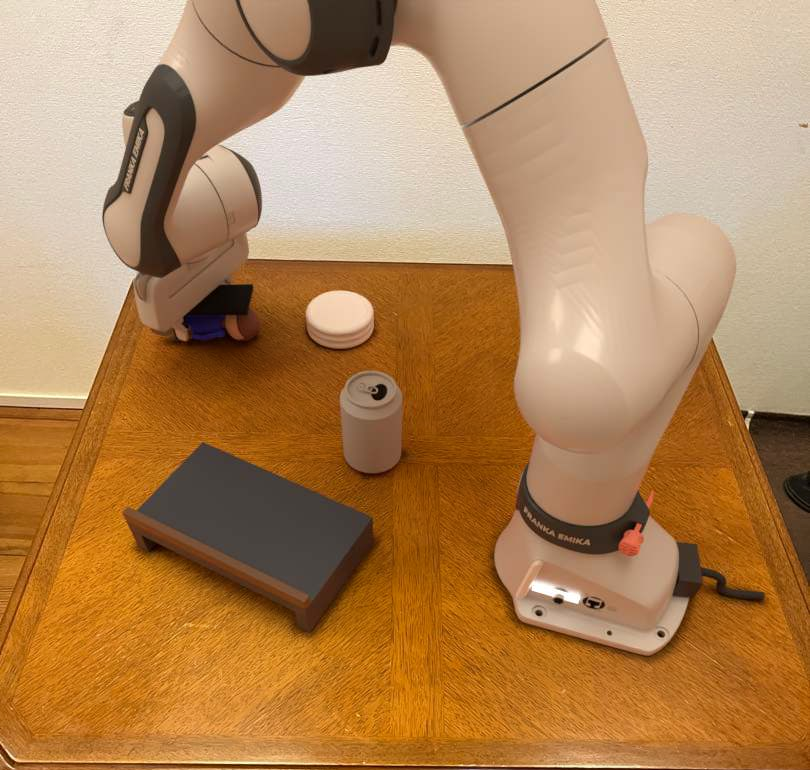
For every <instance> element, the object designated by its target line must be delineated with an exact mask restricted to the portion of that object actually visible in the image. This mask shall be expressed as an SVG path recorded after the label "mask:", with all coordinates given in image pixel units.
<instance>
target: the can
mask: <svg viewBox="0 0 810 770" xmlns="http://www.w3.org/2000/svg"><path fill="white" fill-rule="evenodd" d="M339 394H340V395H339V408H340V422H341V435H342V437H341V438H342V451H343V456H344V459H345V462H346V463H347V464H348V465H349V466H350V467H351V468H353V469H354V470H356V471H358V472H362V473H364V474H379V473H384V472H386V471H389V470H390V469H392V468H394V467H395V466H396V465H397V464H398V463H399V461H400V459H401V457H402V440H403V439H402V437H403V393H402V390H401V388H400V387H399V386H398V385H397V382H396V380H395V379H394V378H393V377H392V376H391V375H389V374H387V373H385V372H382V371H379V370H364V371H360V372H357V373H354V374H352V376H350V377H349V378H348V379H347V380H346V382H345V384H344V386H343V388H342V389H341V391H340V393H339Z"/></svg>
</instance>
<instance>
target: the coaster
mask: <svg viewBox="0 0 810 770" xmlns="http://www.w3.org/2000/svg"><path fill="white" fill-rule="evenodd" d="M374 311H375V310H374V308H373V305H372V303H371V301H369V299H367V298H366V297H364V296H363V295H361V294H359V293H357V292H353V291H349V290H331V291H327V292H324V293H321V294H319V295H317V296H316V297H314V298H313V299H312V300H311V301H310V302H309V304H308V305H307V307H306V309H305V319H306V320H305V323H306V330H307V333H308V335H309V337H310V338H311V339H312V340H313V341H314V342H315V343H317V344H318V345H320V346H322V347H326V348H329V349H336V350H345V349H346V350H347V349H351V348H354V347H357V346H359V345H362V344H363V343H365V342H366V341H367V340H368V339H370V337H371V336H372V334H373V332H374V327H375V323H374V321H375V319H374V317H375V316H374V315H375V314H374V313H375V312H374Z"/></svg>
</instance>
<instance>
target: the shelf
mask: <svg viewBox="0 0 810 770" xmlns="http://www.w3.org/2000/svg"><path fill="white" fill-rule="evenodd" d="M121 514H122V515H123V517H124V520H125V523H126V524H127V526H128V528H129V530H130V532H131V534H132V537H133V538H134V540H135V543H136V544H137V547H138V548H140V549H142V550H145V551H146V552H150V551H151V550H152V549H153V548H154V547H155V546H156V545H157V544H158V545H160V546H162V547H164V548H166V549H168V550H170V551H172V552H174V553H176V554H178V555H180V556H182V557H184V558H186V559H188V560H190V561H192V562H194V563H197V564H199V565H200V566H202V567H203V568H206V569H208V570H210V571H212V572H214V573H216V574H217V575H220V576H222V577H224V578H226V579H229V580H230V581H233V582H234V583H236V584H239V585H241V586H242V587H244V588H247V589H248V590H251V591H252V592H254V593H256V594H258V595H261V597H264V598H266V599H268V600H270V601H272V602H274V603H276V604H279V605H280V606H282V607H285V608H286V609H288V610H291V611H292V612H294V614H295V619H296V624H297V628H298V629H301V630H303V631H304V632H307V633H308V634H311V632H312V631H313V630H314V629H315V628H316V625H318V622H319V621H320V620H321V619H322V617H323V615H324V614H325V612H326V611H327V610H328V608H329V607H330V606H331V604H332V603H333V601H334V600H335V598H336V597H337V595H338V594H339V593H340V591H341V590H342V588H343V587H344V586H345V584H346V583H347V582H348V579H349V578H350V577H351V576H352V574H353V572H354V571H355V569H356V568H357V567H358V565H359V564H360V562H361V561H362V560H363V558H364V557H365V555H366V554H367V552H368V551H369V549H370V548H371V547H372V545H373V544H374V519H373V518H374V517H373V516H371V515H369V514H366V513H364V512H362V511H360V510H357V509H355V508H353V507H350V506H348V505H346V504H344V503H341V502H339V501H337V500H334V499H332V498H330V497H328V496H325V495H324V494H322V493H319V492H316V491H314V490H312V489H310V488H307V487H306V486H303V485H301V484H299V483H297V482H294V481H292V480H291V479H290V480H289V479H287V478H285V477H283V476H281V475H279V474H276V473H274V472H272V471H269V470H267V469H264V468H263V467H260V466H258V465H256V464H253V463H251V462H249V461H247V460H245V459H242V458H240V457H238V456H235V455H234V454H231V453H228V452H227V451H224V450H222V449H220V448H218V447H215V446H213V445H210V444H209V443H206V442H205V441H202V442H201V443H200V444H199V445H198V446H197V447H196V448H195V449H194V450H193V451H192V452H191V453H190V454H189V455H188V456H187V457H186V459H184V461H183V462H181V463H180V465H178V467H177V468H176V469H175V470H174V471H173V472H172V473H171V474H170V475H169V476H168V477H167V478H166V479H165V480H164V481H163V482H162V483H161V484H160V485H159V487H157V488H156V489H155V490H154V492H152V494H151V495H150V496H149V497H148V498H146V500H145V501H144V502H143V503H142V504H141V505H140V506H139V507H138V508H137V509H134V508H132V507H130V506H127V507H126V508H124V510H123V511H122V512H121Z"/></svg>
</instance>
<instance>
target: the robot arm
mask: <svg viewBox="0 0 810 770" xmlns="http://www.w3.org/2000/svg"><path fill="white" fill-rule="evenodd" d="M397 46H399V47H404V48H405V47H406V48H408V49H412V50H414V51H416V52H417V53H419V54H420V55H422V56H423V57H424V58H425V59H426V60H427V61H428V63H429V64H430V65H431V67H432V68H433V70H434V71H435V74H436V75H437V77H438V79H439V81H440V82H441V85H442V86H443V87H442V88H443V90H444V92H445V94H446V96H447V98H448V101H449V104H450V106H451V108H452V111H453V113H454V116H455V117H456V120H457V122H458V124H459V126H460V127H461V131H462V134H463V136H464V137H465V140H466V142H467V145H468V146H469V149H470V151H471V153H472V155H473V159H474V161H475V162H476V164H477V168H478V169H479V172H480V174H481V176H482V179H483V181H484V183H485V186H486V188H487V191H488V192H489V195H490V197H491V200H492V202H493V204H494V207H495V210H496V211H497V214H498V216H499V219H500V222H501V225H502V228H503V231H504V235H505V237H506V241H507V244H508V249H509V253H510V260H511V263H512V269H513V275H514V282H515V288H516V296H517V297H516V298H517V303H518V304H517V305H518V314H519V332H520V333H519V349H518V359H517V363H516V369H515V373H514V378H513V395H514V399H515V403H516V406H517V409H518V410H519V413H520V415H521V416H522V418H523V419H524V421H525V423H526V424H527V426H529V428H530V429H531V430H532V431H533V432H534V433H535V436H534V440H533V445H532V449H531V453H530V457H529V460H528V462H527V464H526V465H525V467H524V469H522V473H521V475H520V478H519V481H518V485H517V490H516V494H515V498H516V500H515V505H514V506H515V511H514V512H513V514H512V517H511V519H510V521H509V523H508V524H507V526H506V527H504V529H503V531H502V532H501V533H500V535H499V537H498V538H497V540H496V543H495V548H494V554H493V556H494V557H493V558H494V567H495V569H496V573H497V575H498V577H499V579H500V581H501V582H502V584H503V586H504V587H505V588H506V590H507V591H508V592H509V594H510V596H511V598H512V603H513V607H514V611H515V615H516V616H517V618H518V620H520V622H522V623H525V624H527V625H531V626H535V627H537V628H538V627H539V628H542V629H546V630H549V631H553V632H556V633H559V634H564V635H567V636H571V637H575V638H579V639H582V640H586V641H589V642H593V643H598V644H600V645H605V646H608V647H611V648H614V649H618V650H622V651H626V652H629V653H630V652H631V653H633V654H637V655H641V656H645V657H650V656H652V655H655V654H656V653H657V652H659V651H661V650H662V649H664V647H666V646H667V645H668V644H669V642H670V641H672V639H673V637H674V636H675V635H676V633H677V631H678V629H679V628H680V625H681V623H682V621H683V618H684V616H685V614H686V611H687V607H688V604H689V601H690V598H694V597H696V595H697V594H698V592H699V590H700V588H701V587H702V586H703V583H704V581H703V577H706V578H710V579H712V580H715V581H716V584H715V588H716V591H718V593H720V594H722V595H723V596H725V597H728V598H731V599H739V600H741V599H742V600H743V599H744V600H756V601H764V599H765V596H766V595H765V592H764V591H756V590H741V589H734V588H730V587H728V586H726V585H727V578H726V576H725V575H723V574H722V573H721V572H719V571H717V570H714V569H711V568H708V567H703V566H701V562H700V561H701V560H700V554H699V547H698V543H693V542H680V541H676V540H675V538H674V537H673V535H671V534H670V533H669V532H668V531H667V530H666V529H664V528H663V527H662V526H661V525H660V524H659V523H658V522H657V521H656V520H655V519H654V518H653V517H652V516H651V515H650V514H651V511H650V508H651V505H652V503H653V501H654V495H655V494H654V493H655V491H654V489H652V490H651V491H650V494H649V495H648V498H647V500H646V501H645V500H644V498H643V496H642V495H641V493H640V491H639V489H640V487H641V484H642V482H643V479H644V477H645V474H646V473H647V470H648V468H649V465H650V463H651V461H652V459H653V456H654V454H655V452H656V450H657V447H658V445H659V443H660V441H661V440H662V438H663V436H664V434H665V432H666V430H667V428H668V426H669V425H670V422H671V421H672V419H673V417H674V415H675V413H676V411H677V409H678V408H679V405H680V403H681V402H682V399H683V397H684V396H685V393H686V392H687V389H688V388H689V386H690V384H691V381H692V380H693V377H694V375H695V373H696V371H697V369H698V367H699V366H700V363H701V362H702V359H703V357H704V355H705V353H706V351H707V349H708V348H709V345H710V344H711V341H712V339H713V337H714V335H715V332H716V330H717V329H718V326H719V324H720V322H721V319H722V318H723V316H724V313H725V311H726V308H727V306H728V303H729V300H730V297H731V293H732V290H733V286H734V283H735V278H736V273H737V259H736V254H735V250H734V247H733V245H732V243H731V241H730V239H729V238H728V236H727V235H726V233H725V232H724V231H723V230H722V229H721V228H720V227H719V226H718V225H716V223H714V222H712V221H711V220H710V219H707V218H705V217H703V216H700V215H696V214H693V213H688V212H676V213H669V214H666V215H662V216H660V217H658V218H656V219H654V220H652V221H650V222H648V223H646V215H645V214H646V213H645V192H646V183H647V177H648V170H649V155H648V153H649V152H648V146H647V142H646V140H645V136H644V134H643V130H642V128H641V125H640V122H639V119H638V117H637V113H636V111H635V107H634V104H633V102H632V99H631V96H630V93H629V91H628V87H627V85H626V82H625V79H624V76H623V73H622V70H621V67H620V64H619V62H618V58H617V56H616V52H615V50H614V46H613V45H612V42H611V38H610V37H609V33H608V30H607V27H606V25H605V22H604V19H603V17H602V14H601V11H600V9H599V6H598V4H597V1H596V0H186V3H185V6H184V9H183V12H182V14H181V16H180V20H179V22H178V24H177V27H176V30H175V32H174V34H173V36H172V39H171V41H170V43H169V44H168V46H167V48H166V49H165V51H164V53H163V55H162V57H161V58H160V60H159V62H158V64H157V65H156V66H155V68H154V69H153V71H152V72H151V74H150V76H149V77H148V78H147V80H146V82H145V84H144V85H143V88H142V91H141V93H140V96H139V98H138V100H137V101H134V102H132V103H131V104H129V105H128V106H126V108H125V109H124V110H123V112H122V116H121V126H122V135H123V136H122V137H123V141H124V148H125V149H124V153H123V157H122V161H121V165H120V168H119V173H118V175H117V178H116V181H115V182H114V183H113V184H112V185H111V186H110V187H109V188H108V189H107V192H106V196H105V198H104V201H103V207H102V216H101V219H102V226H103V230H104V233H105V236H106V238H107V241H108V243H109V245H110V247H111V249H112V250H113V252H114V254H115V255H116V257H117V258H118V259H119V260H120V261H121V263H123V264H124V265H125V266H126V267H127V268H129V269H131V270H133V271H136V273H135V276H134V278H133V279H132V285H133V290H134V291H133V292H134V293H133V294H134V298H135V305H136V309H137V313H138V317H139V320H140V323H142V324H143V325H144V326H145V327H148V328H149V329H150V328H152V329H154V330H157V331H160V332H166V331H167V330H169V329H170V328H171V327H172V328H174V329H175V332H176V335H177V337H178V338H179V339H180V340H183V341H182V342H187V341H189V340H188V339H189V338H190V337H192V336H193V333H192V329H191V326H188V325H185V324H183V323H182V322H183V321H184V320H183V316H185V315H186V314H187V313H188V312H189V311H190V310H191V309H193V308H194V307H195V306H196V305H197V304H198V303H199V302H201V301H202V300H203V299H204V298H205V297H206V296H207V295H209V294H210V293H211V292H212V291H213V290H214V289H216V288H217V287H218V286H219V285H233V283H234V273H235V272H236V271H237V270H238V269H239V268H241V267H242V266H243V265H244V264H246V262H247V261H248V258H249V255H250V247H249V246H250V245H249V240H248V234H247V233H248V232H250V231H251V230H252V229H254V228H257V226H258V225H259V223H260V219H261V216H262V211H263V195H262V188H261V183H260V180H259V177H258V174H257V172H256V169H255V168H254V166H253V164H252V163H251V162H250V161H249V160H248V159H247V158H245V157H244V156H242V155H241V154H240V153H238V152H236V151H234V150H233V149H231V148H228V147H227V146H224V145H221V143H223V142H224V141H226V140H228V139H229V138H231V137H233V136H235V135H236V134H239V133H240V132H242V131H244V130H246V129H248V128H250V127H252V126H254V125H255V124H258V123H260V122H261V121H263V120H266V119H267V118H269V117H270V116H272V115H274V114H275V113H277V112H279V111H280V110H281V109H283V107H284V106H285V105H287V104H288V103H289V101H290V100H291V99H292V97H293V96H294V95H295V93H296V92H297V91H298V89H299V88H300V87H301V85H302V83H303V81H304V80H305V78H306V77H315V76H325V75H333V74H338V73H342V72H347V71H351V70H354V69H361V68H370V67H376V66H381V65H383V64H384V63H385V61H386V60H387V58H388V55H389V52H390V50H391V47H397ZM537 614H540V616H539V615H537ZM659 635H661V637H660V636H659Z"/></svg>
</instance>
